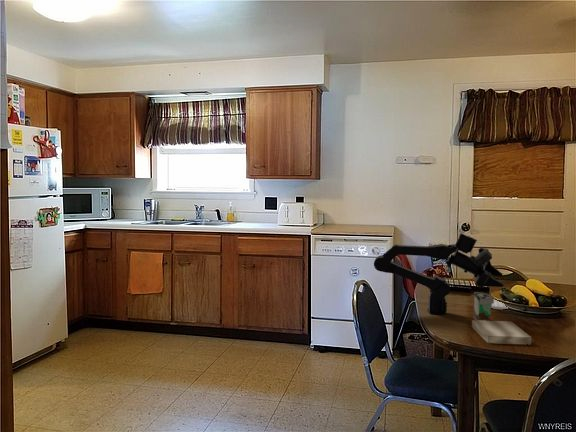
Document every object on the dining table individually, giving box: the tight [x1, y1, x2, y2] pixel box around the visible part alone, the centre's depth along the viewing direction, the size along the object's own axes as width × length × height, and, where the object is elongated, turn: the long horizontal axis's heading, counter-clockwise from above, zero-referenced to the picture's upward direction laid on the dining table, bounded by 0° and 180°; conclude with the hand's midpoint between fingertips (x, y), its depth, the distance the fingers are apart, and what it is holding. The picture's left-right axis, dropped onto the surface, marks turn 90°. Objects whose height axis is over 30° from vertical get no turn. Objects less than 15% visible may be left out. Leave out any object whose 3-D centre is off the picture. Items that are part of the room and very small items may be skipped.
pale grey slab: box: [471, 319, 532, 346], centre depth 167 cm, size 14×18×3 cm
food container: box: [473, 291, 494, 321], centre depth 184 cm, size 12×6×10 cm, turn 168°
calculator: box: [491, 298, 508, 310], centre depth 208 cm, size 13×20×2 cm, turn 72°
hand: (502, 280), depth 189 cm, fingers open, 9 cm apart
